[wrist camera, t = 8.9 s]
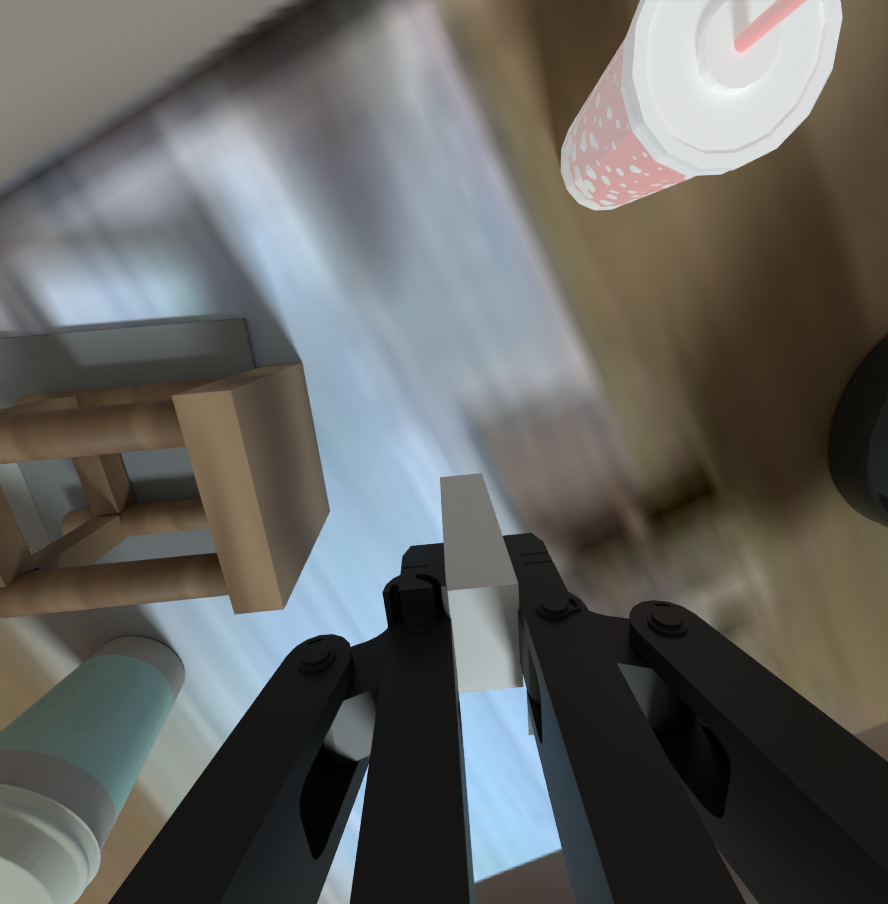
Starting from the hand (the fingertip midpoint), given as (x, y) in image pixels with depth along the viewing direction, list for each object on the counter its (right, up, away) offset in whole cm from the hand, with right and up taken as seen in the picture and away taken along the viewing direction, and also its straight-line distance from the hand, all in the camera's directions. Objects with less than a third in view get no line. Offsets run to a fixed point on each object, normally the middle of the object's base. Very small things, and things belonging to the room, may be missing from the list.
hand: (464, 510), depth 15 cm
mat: (-18, +2, +9) cm, 20 cm away
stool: (-8, +1, +5) cm, 9 cm away
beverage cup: (+7, +17, +6) cm, 19 cm away
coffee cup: (-21, -13, +14) cm, 28 cm away
